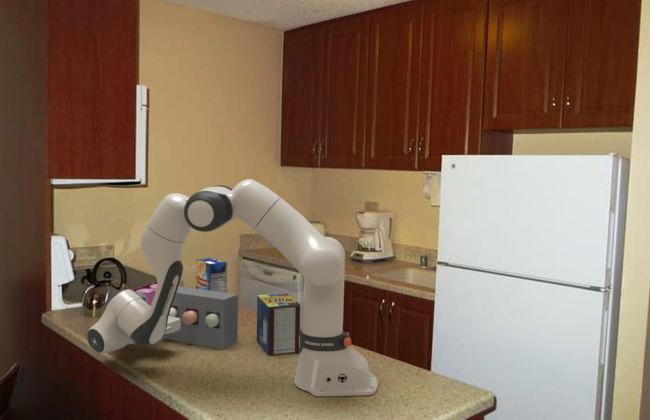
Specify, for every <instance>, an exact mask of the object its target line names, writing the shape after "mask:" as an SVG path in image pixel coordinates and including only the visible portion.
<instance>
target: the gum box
mask: <svg viewBox="0 0 650 420" xmlns="http://www.w3.org/2000/svg"><path fill="white" fill-rule="evenodd" d="M179 286H181V287H184V279H181V280H180V283H179ZM131 290H132V291H133V292H134V293H136V294H137V295H138V296H139V297H141V298H142V299H143V300H144V301H145V302H146V303H147V304H149V305H150V306H151V305H152V302H153V299H154V296H155V293H156V290H157V281H154V282H152V283H149V284H146V285H142V286H140V287H135V288H133V289H131Z"/></svg>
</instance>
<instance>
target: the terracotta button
mask: <svg viewBox="0 0 650 420" xmlns="http://www.w3.org/2000/svg"><path fill="white" fill-rule="evenodd" d="M182 320H183V322H184V323H185V324H187V325H189V324H192V323H194V322H197V321H198V320H199V312H198V310H196V309H193V310H191V311H188V312H185V313H184V314H183V315H182Z"/></svg>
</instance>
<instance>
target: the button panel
mask: <svg viewBox="0 0 650 420" xmlns="http://www.w3.org/2000/svg"><path fill="white" fill-rule="evenodd" d="M173 306H176V307H178V318H180V320H181V328H180V330H178V331H175V332H172V333H169V334H164V335H163V337H162V338H161V339H163V340H168V341H174V342H180V343H185V344H189V343H190V344H191V345H194V344H195V346H200V347H207V348H212V349H217V350H223V351H225V350H227V349H228V348H231V347H232V346H234V345H236V344H238V329H239V327H238V326H239V325H238V322H239V319H238V318H239V317H238V316H239V294H238V293H237V294H236V293H229V292H227V293H224V292H217V291H210V290H203V289H196V287H195V288H194V287H186V286H183V287H181V286H178V289H177V292H176V295H175V298H174V301H173V304H172V307H173ZM193 309H196V310H198V312H199V320H198V321H197V322H194V323H192V324H189V325H187V324H185V323H184V322H183V320H182V315H183V314H184V313H185V312H188V311H191V310H193ZM212 313H220V324H219V325H217V326H214V327H208V326H207V324H206V322H205V319H206V316H207V315H210V314H212Z"/></svg>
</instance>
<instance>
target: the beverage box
mask: <svg viewBox="0 0 650 420" xmlns="http://www.w3.org/2000/svg"><path fill="white" fill-rule="evenodd" d="M195 266H196V267H195V289H203V290H210V291H217V292H224V293H228V292H227V290H228V286H227V285H228V262H227V261H224V260H221V259H217V258H214V257H209V258H199V259H196V260H195Z"/></svg>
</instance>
